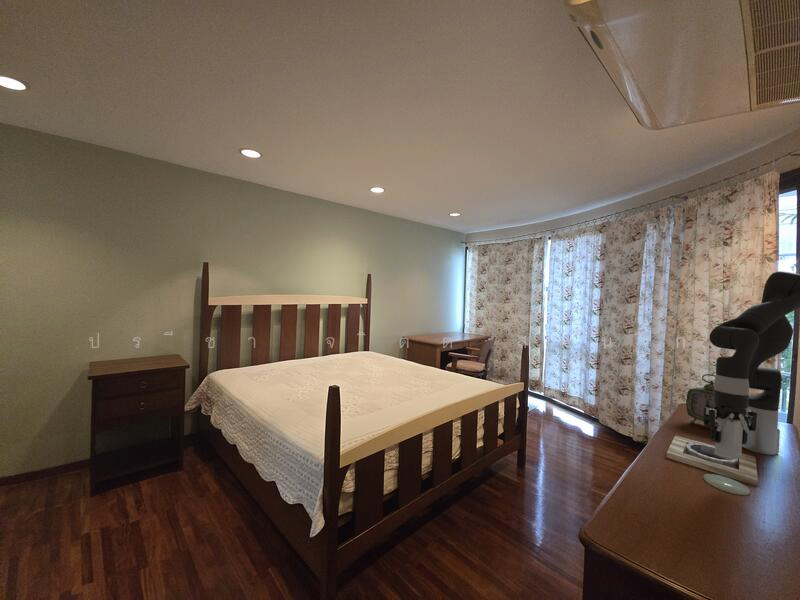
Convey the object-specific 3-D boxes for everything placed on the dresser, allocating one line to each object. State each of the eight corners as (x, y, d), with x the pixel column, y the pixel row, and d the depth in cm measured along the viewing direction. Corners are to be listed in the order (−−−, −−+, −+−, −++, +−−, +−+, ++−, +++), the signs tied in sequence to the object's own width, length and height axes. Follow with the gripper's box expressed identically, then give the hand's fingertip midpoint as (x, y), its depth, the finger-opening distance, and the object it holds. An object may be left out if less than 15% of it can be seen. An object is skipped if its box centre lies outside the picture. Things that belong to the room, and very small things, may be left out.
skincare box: (723, 451, 100) (724, 414, 100) (742, 458, 96) (744, 419, 96) (713, 454, 98) (715, 416, 98) (732, 461, 94) (734, 422, 94)
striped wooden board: (674, 440, 128) (675, 435, 128) (755, 462, 112) (755, 457, 112) (666, 457, 114) (666, 452, 114) (757, 486, 97) (757, 479, 97)
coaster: (726, 476, 102) (726, 474, 102) (760, 496, 92) (760, 494, 92) (694, 474, 103) (695, 473, 103) (725, 494, 93) (725, 492, 93)
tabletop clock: (685, 423, 147) (687, 371, 147) (695, 420, 151) (697, 370, 150) (726, 436, 134) (729, 379, 133) (736, 433, 137) (739, 377, 137)
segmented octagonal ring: (712, 452, 119) (712, 444, 119) (748, 471, 106) (748, 462, 106) (677, 450, 120) (677, 442, 120) (708, 468, 107) (709, 460, 107)
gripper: (718, 393, 93) (716, 446, 94) (768, 395, 93) (766, 449, 93) (696, 385, 101) (694, 435, 101) (742, 387, 100) (739, 438, 100)
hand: (728, 442), depth 97 cm, fingers closed on skincare box, 7 cm apart
